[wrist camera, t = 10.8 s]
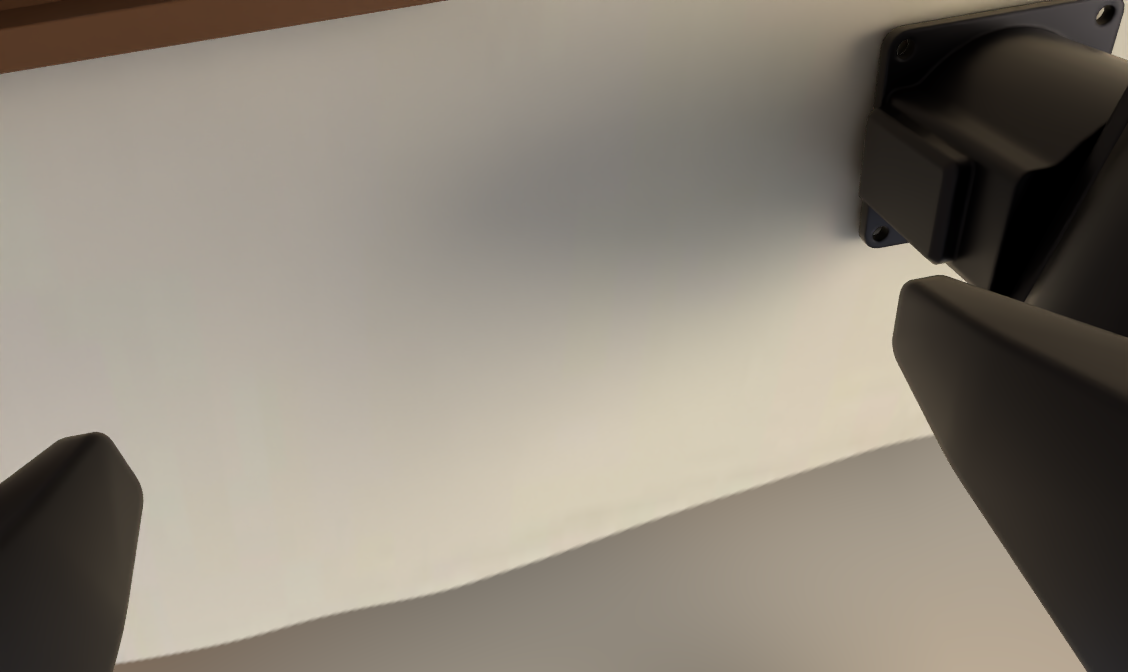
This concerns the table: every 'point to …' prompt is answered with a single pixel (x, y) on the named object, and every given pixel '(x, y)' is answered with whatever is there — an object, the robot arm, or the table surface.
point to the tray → (149, 24)
